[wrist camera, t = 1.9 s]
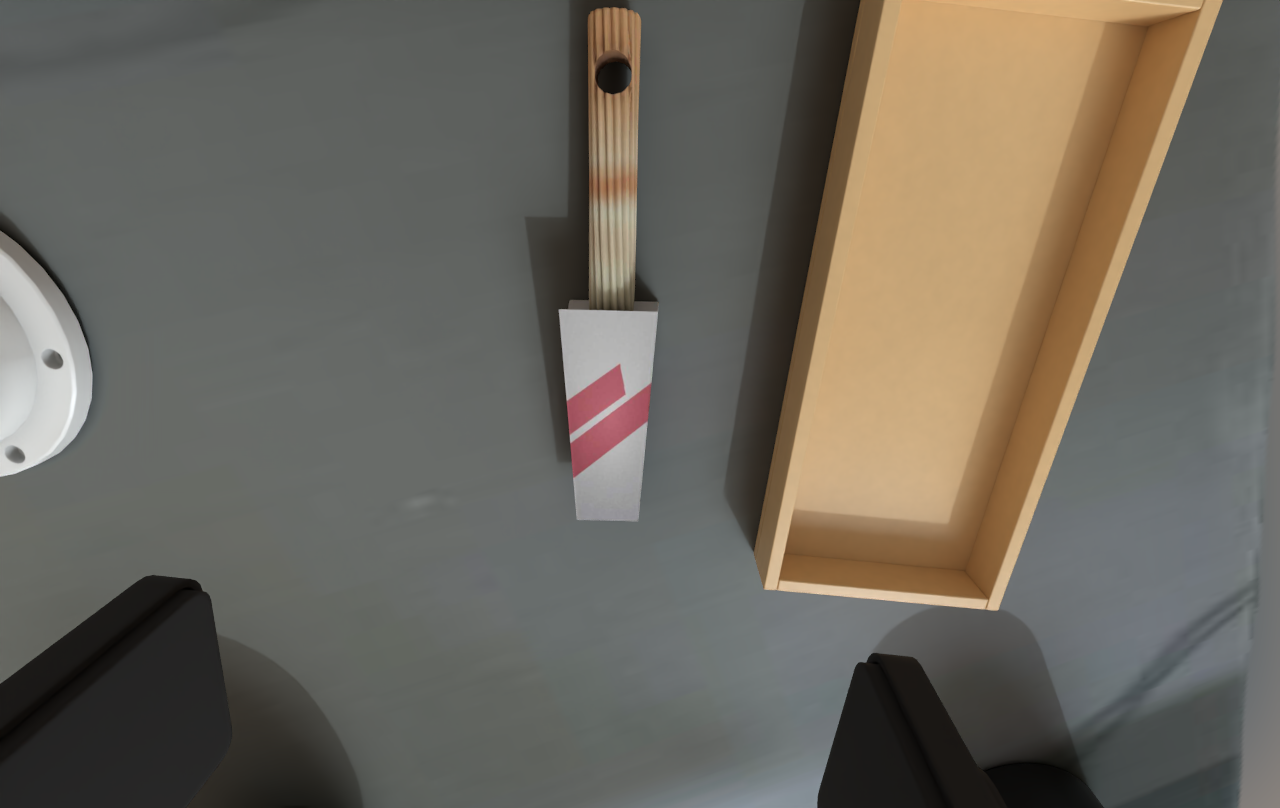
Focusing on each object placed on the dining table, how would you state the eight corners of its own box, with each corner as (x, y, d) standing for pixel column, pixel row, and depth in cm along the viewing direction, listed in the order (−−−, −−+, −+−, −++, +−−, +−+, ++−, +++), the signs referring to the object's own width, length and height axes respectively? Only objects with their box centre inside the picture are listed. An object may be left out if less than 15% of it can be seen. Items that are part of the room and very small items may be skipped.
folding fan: (559, 535, 26) (557, -1, 20) (568, 506, 28) (568, 25, 22) (649, 539, 26) (674, 3, 20) (649, 509, 28) (671, 29, 22)
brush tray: (753, 553, 30) (763, 589, 27) (863, -20, 21) (894, -49, 19) (967, 574, 30) (998, 611, 27) (1156, 14, 22) (1227, -11, 19)
